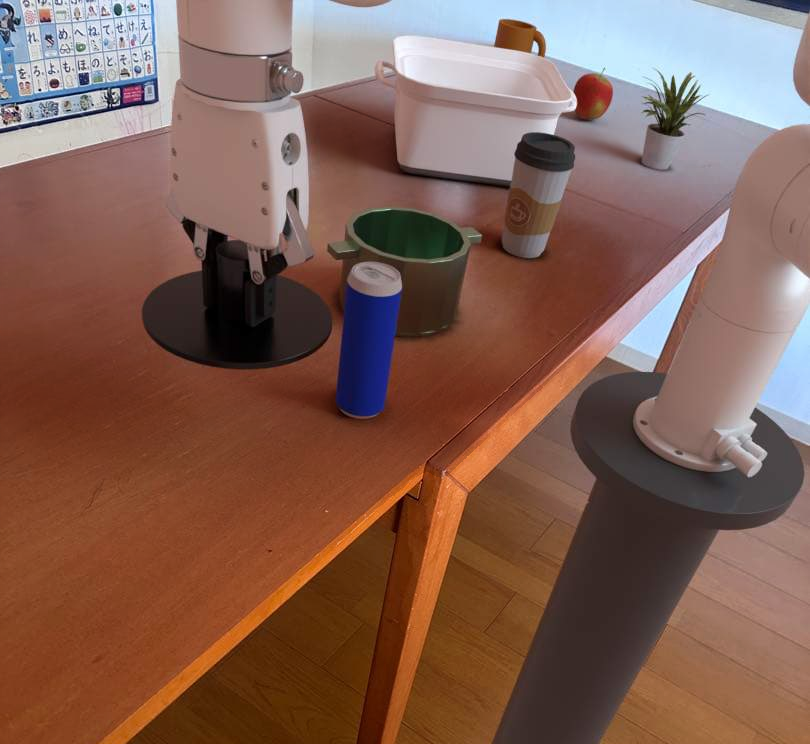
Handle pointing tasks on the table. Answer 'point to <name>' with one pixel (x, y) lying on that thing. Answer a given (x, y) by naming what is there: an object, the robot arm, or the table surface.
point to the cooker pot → (411, 262)
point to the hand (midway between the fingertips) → (239, 308)
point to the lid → (235, 318)
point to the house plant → (667, 123)
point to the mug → (519, 36)
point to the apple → (592, 96)
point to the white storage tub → (469, 106)
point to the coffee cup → (536, 192)
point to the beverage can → (367, 338)
